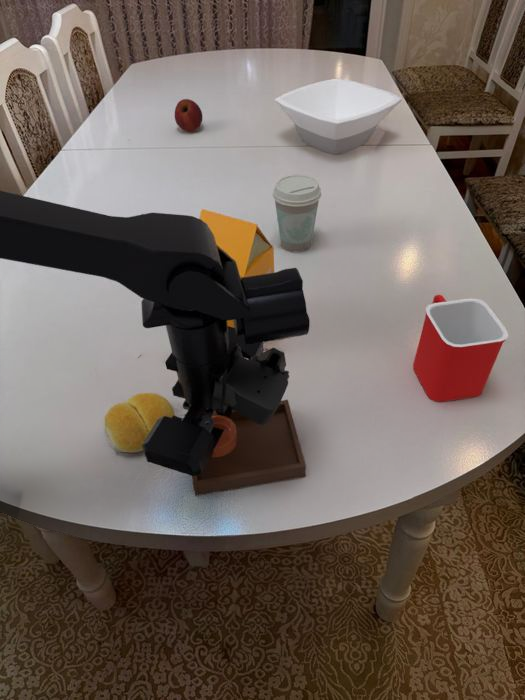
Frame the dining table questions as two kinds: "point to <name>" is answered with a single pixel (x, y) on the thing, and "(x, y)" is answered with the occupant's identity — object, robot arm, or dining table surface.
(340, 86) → the bowl
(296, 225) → the coffee cup
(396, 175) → the dining table surface
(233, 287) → the robot arm
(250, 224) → the orange juice
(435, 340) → the mug
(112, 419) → the bread roll
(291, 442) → the serving tray
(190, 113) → the apple
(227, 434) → the side dish
